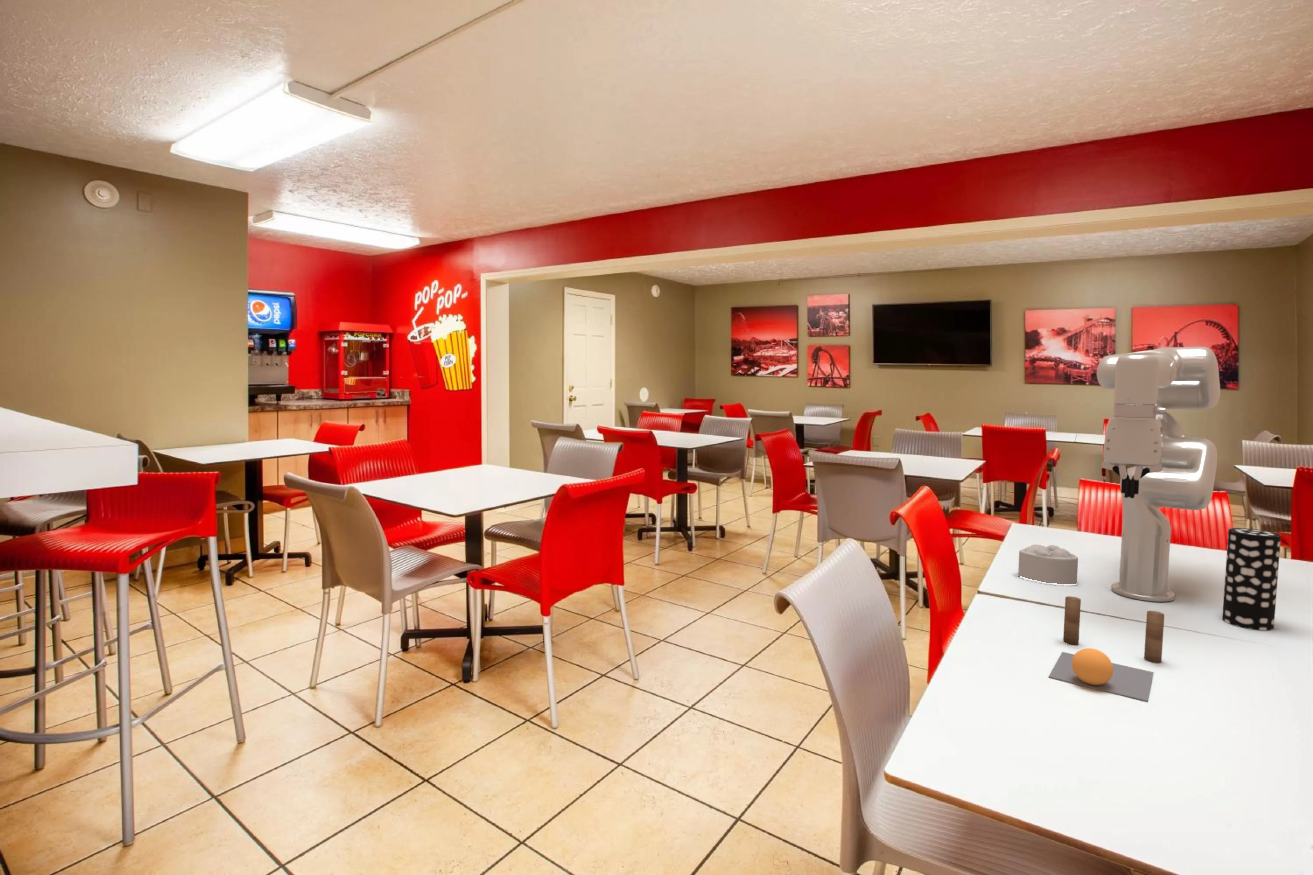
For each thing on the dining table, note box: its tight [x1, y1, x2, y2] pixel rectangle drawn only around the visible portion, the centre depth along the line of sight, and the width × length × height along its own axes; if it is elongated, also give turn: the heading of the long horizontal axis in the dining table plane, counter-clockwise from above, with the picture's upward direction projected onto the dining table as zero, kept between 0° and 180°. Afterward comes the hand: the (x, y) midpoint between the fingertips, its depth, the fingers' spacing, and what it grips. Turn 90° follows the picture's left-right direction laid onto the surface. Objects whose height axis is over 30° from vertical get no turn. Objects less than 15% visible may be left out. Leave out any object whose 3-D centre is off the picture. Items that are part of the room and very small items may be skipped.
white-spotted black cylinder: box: [1221, 527, 1282, 631], centre depth 141 cm, size 8×8×20 cm
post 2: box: [1143, 610, 1165, 664], centre depth 123 cm, size 3×3×9 cm
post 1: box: [1062, 595, 1082, 646], centre depth 131 cm, size 3×3×9 cm
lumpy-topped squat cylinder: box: [1017, 544, 1079, 584], centre depth 174 cm, size 10×13×9 cm
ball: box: [1072, 647, 1113, 685], centre depth 113 cm, size 6×6×6 cm
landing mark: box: [1048, 651, 1154, 703], centre depth 117 cm, size 14×14×1 cm
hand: (1129, 497), depth 143 cm, fingers closed
